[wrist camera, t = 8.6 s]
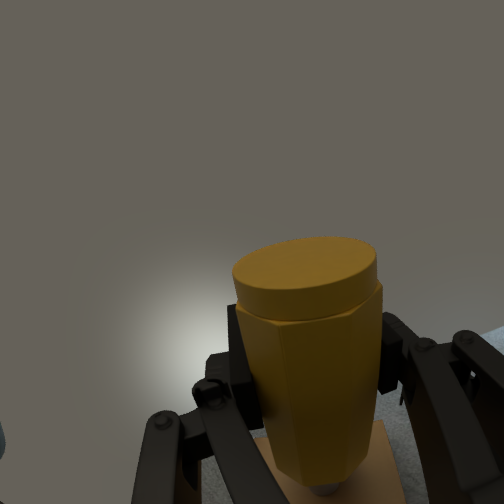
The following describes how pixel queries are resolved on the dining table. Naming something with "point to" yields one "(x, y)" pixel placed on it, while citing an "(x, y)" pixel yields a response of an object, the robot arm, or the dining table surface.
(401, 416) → the dining table surface
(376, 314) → the jar
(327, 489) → the stand
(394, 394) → the dining table surface
